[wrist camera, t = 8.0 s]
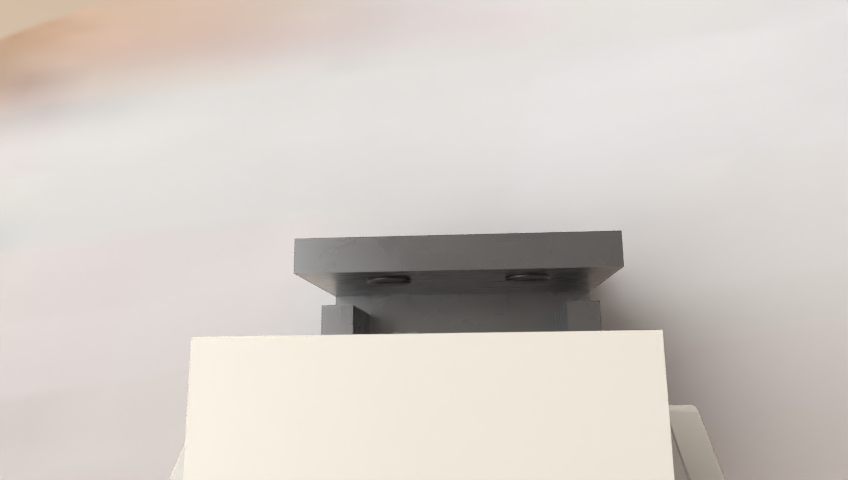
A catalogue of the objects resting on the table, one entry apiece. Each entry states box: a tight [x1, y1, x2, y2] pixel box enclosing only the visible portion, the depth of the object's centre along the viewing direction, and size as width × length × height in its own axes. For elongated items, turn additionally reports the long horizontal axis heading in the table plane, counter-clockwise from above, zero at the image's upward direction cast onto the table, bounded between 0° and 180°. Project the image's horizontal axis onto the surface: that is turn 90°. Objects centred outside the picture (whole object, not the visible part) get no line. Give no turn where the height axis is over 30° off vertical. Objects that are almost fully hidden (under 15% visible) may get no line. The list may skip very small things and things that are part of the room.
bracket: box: [294, 231, 624, 335], centre depth 25 cm, size 11×12×8 cm
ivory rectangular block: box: [183, 330, 674, 480], centre depth 12 cm, size 5×4×11 cm
